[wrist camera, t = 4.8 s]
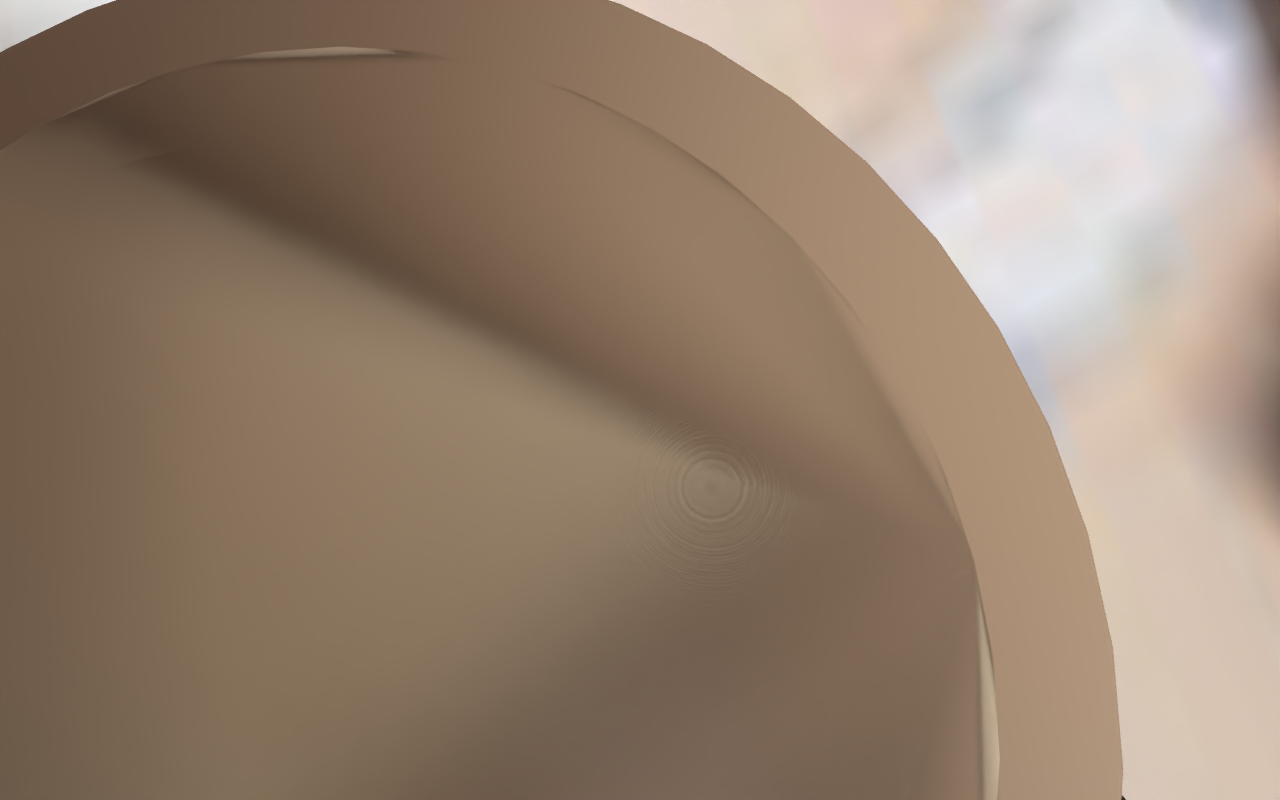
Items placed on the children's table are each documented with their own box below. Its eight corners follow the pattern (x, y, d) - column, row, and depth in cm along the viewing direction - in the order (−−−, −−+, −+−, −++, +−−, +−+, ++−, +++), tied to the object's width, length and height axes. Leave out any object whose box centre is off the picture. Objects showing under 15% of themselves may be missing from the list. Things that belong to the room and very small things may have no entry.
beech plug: (677, 741, 15) (489, 2114, 2) (432, 570, 16) (-697, 903, 3) (839, 481, 16) (1457, 456, 3) (589, 326, 16) (133, -271, 3)
